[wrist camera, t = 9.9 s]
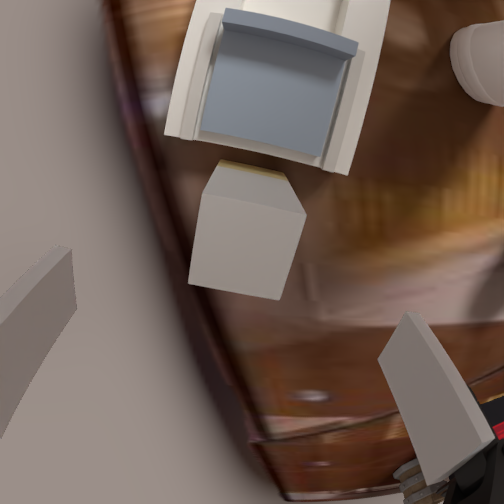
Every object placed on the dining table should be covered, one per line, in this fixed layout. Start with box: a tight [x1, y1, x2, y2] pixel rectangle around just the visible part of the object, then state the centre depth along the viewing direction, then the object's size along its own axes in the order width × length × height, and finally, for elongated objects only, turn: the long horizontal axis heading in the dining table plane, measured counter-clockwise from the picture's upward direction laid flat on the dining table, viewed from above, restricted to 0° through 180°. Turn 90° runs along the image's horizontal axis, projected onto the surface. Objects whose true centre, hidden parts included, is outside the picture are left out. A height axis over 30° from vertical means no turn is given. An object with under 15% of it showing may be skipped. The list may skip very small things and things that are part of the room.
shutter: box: [200, 8, 359, 157], centre depth 16 cm, size 8×8×3 cm
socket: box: [164, 0, 391, 176], centre depth 16 cm, size 20×13×4 cm, turn 167°
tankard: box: [393, 458, 448, 504], centre depth 49 cm, size 20×13×15 cm, turn 177°
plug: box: [188, 159, 307, 301], centre depth 20 cm, size 5×5×10 cm
